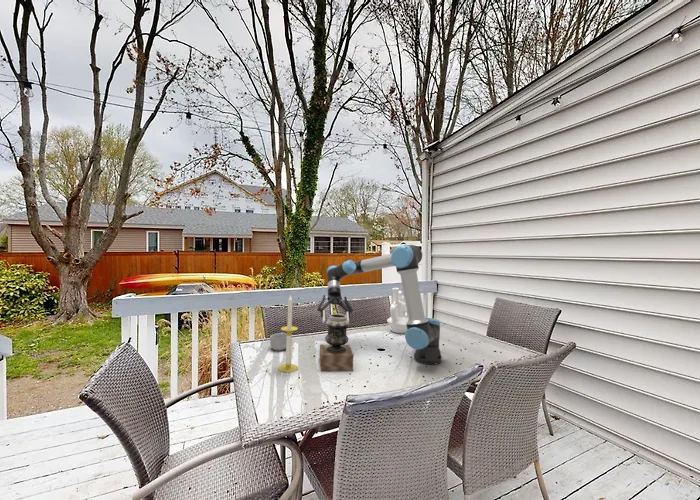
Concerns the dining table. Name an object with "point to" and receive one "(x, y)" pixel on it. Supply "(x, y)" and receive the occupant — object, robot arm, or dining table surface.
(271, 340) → the teacup
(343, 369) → the walnut stand
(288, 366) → the rod with yellow discs
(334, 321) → the apothecary jar
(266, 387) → the dining table surface
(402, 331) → the white tall piece
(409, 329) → the robot arm
